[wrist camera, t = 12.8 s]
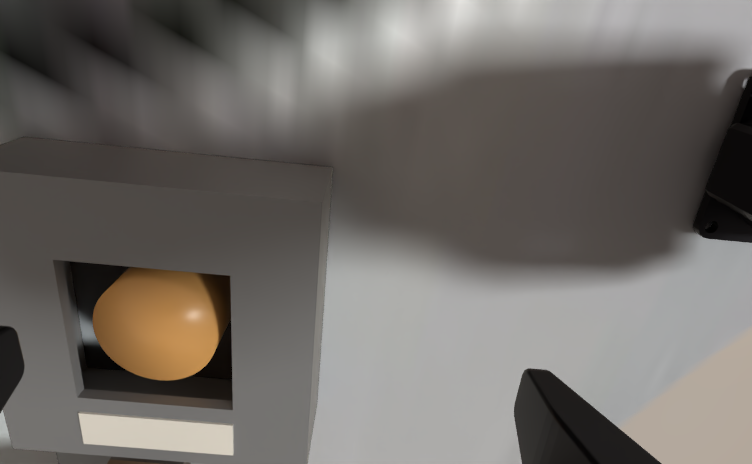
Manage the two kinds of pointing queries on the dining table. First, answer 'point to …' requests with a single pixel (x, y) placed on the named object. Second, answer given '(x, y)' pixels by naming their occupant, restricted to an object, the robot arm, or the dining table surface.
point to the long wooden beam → (140, 461)
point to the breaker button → (163, 321)
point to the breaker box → (166, 252)
